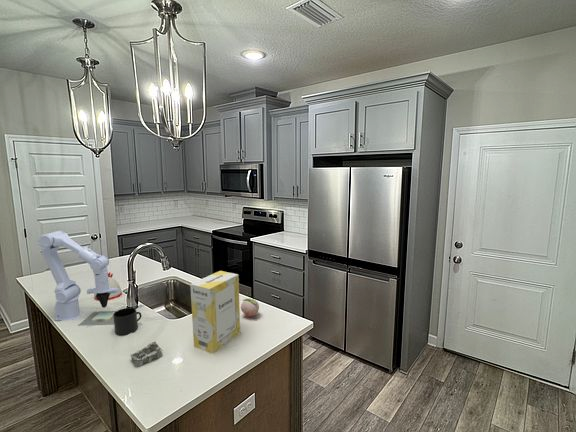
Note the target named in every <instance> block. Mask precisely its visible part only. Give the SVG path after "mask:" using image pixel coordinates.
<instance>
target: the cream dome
mask: <svg viewBox="0 0 576 432" xmlns="http://www.w3.org/2000/svg"><path fill="white" fill-rule="evenodd" d="M113 275H114V274H113V273H111V272H109V271H108V280H109V287H111V288H119V292H118V293H111V294H110V296H109V298H108V301H111V300H114V299H117V298H120V297H121V296H122V295H123V294H122V293H123V290H122V289H121V286H120V284H119V283H118V281H117V280H116V279H115V278H113ZM96 295H97V293H93V296H94V300H95V301H97V302H99V300H98V299H97V298H96V297H95V296H96Z"/></svg>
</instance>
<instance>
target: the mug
mask: <svg viewBox="0 0 576 432" xmlns="http://www.w3.org/2000/svg"><path fill="white" fill-rule="evenodd" d="M115 311H116V312H115V313H114V314H113V318H114V325H113V326H114V333H115V335H117V336H128V335H130V334H132V333H136V331H137V330H138V329H139V328H138V326H139V325H138V322H139V321H140V320H141V319H142V313H141V312H140V311H137V309H136V308H135V307H124V308H121V309H118V310H115ZM138 315H139V317H138Z"/></svg>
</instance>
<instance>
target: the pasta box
mask: <svg viewBox="0 0 576 432" xmlns="http://www.w3.org/2000/svg"><path fill="white" fill-rule="evenodd" d="M239 276H240V275H239V274H238V273H234V272H227V271H223V270H219V271H216V272H214V273H211V274H210V275H207V276H205V277H203V278H201V279H198V280H196V281H194V282H192V283H190V284H189V286H190V302H191V318H192V319H191V320H192V321H191V322H192V335H193V336H192V337H193V347H194V348H196V349H199V350H202V351H204V352H206V353H209V354H212V355H214V354H215V353H216V352H218V351H219V350H220V349H221V348H222V347H224V346H225V345H227V343H229V342H230V341H232V340H233V339H234V338H235V337H237V336H238V335H239V334H240V333H241V313H240V312H241V311H240V310H241V306H240V287H239V286H240V282H239V281H240V278H239Z"/></svg>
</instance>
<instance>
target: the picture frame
mask: <svg viewBox="0 0 576 432" xmlns="http://www.w3.org/2000/svg"><path fill="white" fill-rule="evenodd" d="M116 311H117V310H111V311H110V310H106V311H105V310H102V311H93V312H92V313H91V314H90V315H89V316H87V317H86V318H84V319H83V321H81V322H80V323H79V324H78V325H77V327H81V326H82V327H83V326H108V325H109V326H110V325H111V326H112V325H113V326H114V318H112V319H111V320H110V321H103V322H92V319H93V318H94V317H95V316H97V315H98V314H99V313H106V312H116Z"/></svg>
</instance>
